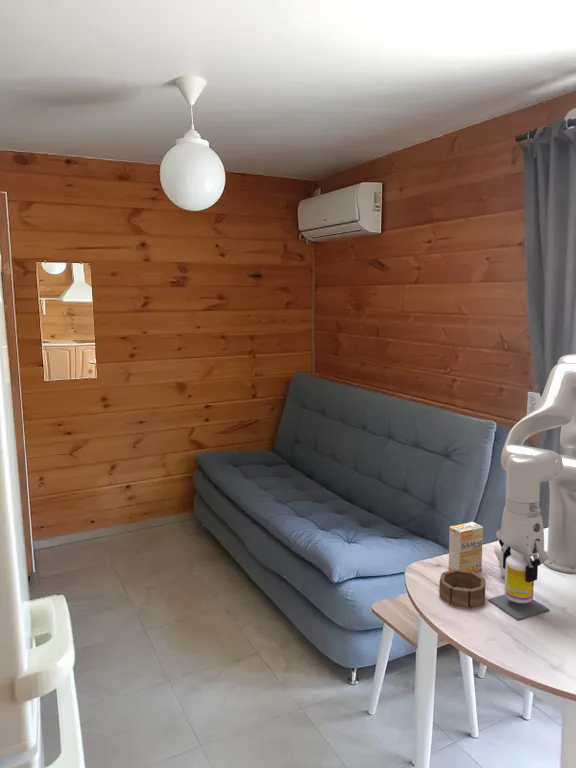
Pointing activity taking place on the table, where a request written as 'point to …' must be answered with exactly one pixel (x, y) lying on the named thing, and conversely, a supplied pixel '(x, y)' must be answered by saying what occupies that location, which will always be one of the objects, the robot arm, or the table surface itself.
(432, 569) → the table surface
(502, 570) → the lightbulb
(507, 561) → the supplement bottle
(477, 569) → the supplement box
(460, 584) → the ring stand
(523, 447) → the robot arm
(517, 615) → the mat
